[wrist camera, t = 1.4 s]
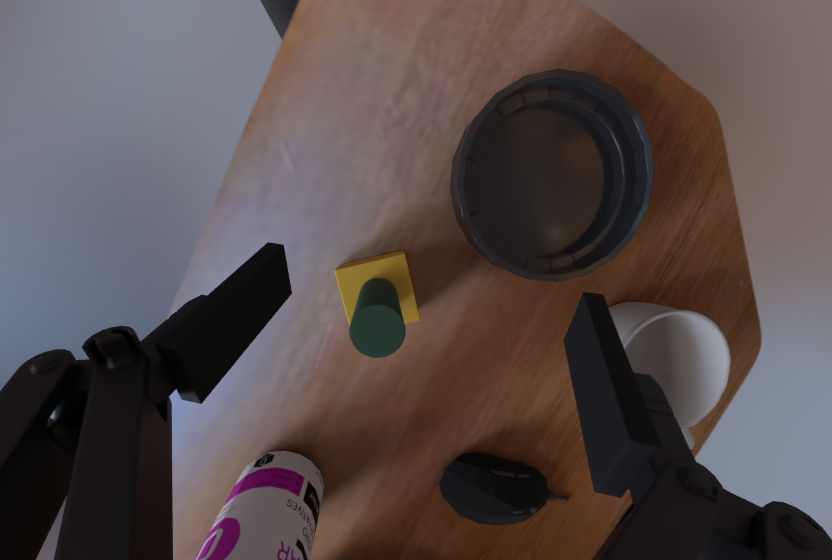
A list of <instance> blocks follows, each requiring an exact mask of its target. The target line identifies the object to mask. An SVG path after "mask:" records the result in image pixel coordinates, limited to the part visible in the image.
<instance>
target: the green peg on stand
mask: <svg viewBox="0 0 832 560" xmlns="http://www.w3.org/2000/svg"><path fill="white" fill-rule="evenodd" d="M335 274H336V278H337V282H338V285H339V289H340V293H341V296H342V300H343V304H344V307H345V311H346V315H347V318H348V322H349V326H350V328H349V335H350V339H351V342H352V344H353V345H354V347H355V348H356V349H357V350H358V351H359V352H360V353H362V354H364V355H366V356H368V357H373V358H381V357H385V356H388V355H390V354H392V353H394V352H395V351H396V350H397V349H398V348H399V347H400V346H401V344H402V342H403V340H404V337H405V324H408V323H412V322H416V321H420V316H419V312H418V308H417V303H416V299H415V295H414V291H413V286H412V282H411V278H410V274H409V269H408V265H407V261H406V257H405V254H404V252H403V251H402V250H401V251H397V252H392V253H388V254H384V255H380V256H376V257H371V258H367V259H363V260H359V261H355V262H350V263H346V264H342V265H339V266H338V267H337V268H336V269H335Z"/></svg>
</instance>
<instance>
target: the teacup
mask: <svg viewBox="0 0 832 560" xmlns="http://www.w3.org/2000/svg"><path fill="white" fill-rule="evenodd" d="M608 309H609V311H610V314H611V316H612V319H613V322H614V324H615V327H616V329H617V332H618V334H619V337H620V339H621V342H622V345H623V347H624V350H625V352H626V355H627V357H628V360H629V362H630V365H631V368H632V370H633V372H636V373H641V374H647V375H651V376H652V378H653V379H654V380H655V381H656V382H657V383H658V384H659V385H660V386H661V388H662V389H663V391H664V393H665V395H666V398H667V400H668V402H669V403H668V404H669V405H670V406H671V409H672V411H673V413H674V417H676V419H677V422H678V424H679V426H680V428H681V430H682V433H683V435H684V437H685V439H686V441H687V444H688V446H689V448H690V450H692V449H693V448H694V446H695V438H694V435H693V433H692V431H691V429H690V427H692V426H694V425H695V424H697V423H698V422H700V421H701V420H702V419H703V418H704V417H705V416H707V415H708V414H709V413H710V412H711V411H712V410H713V409H714V408H715V406H716V405H717V404H718V402H719V400H720V399H721V397H722V395H723V392H724V390H725V388H726V385H727V383H728V378H729V374H730V364H731V358H730V351H729V346H728V342H727V340H726V338H725V336H724V334H723V332H722V331H721V329H720V328H719V327H718V326H717V325H716V324H715V323H714V322H713V321H712V320H711V319H709V318H708V317H706V316H704V315H702V314H700V313H698V312H694V311H689V310H678V309H674V308H670V307H666V306H661V305H657V304H652V303H645V302H624V303H619V304H616V305H613V306H610V307H608Z"/></svg>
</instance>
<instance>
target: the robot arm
mask: <svg viewBox="0 0 832 560" xmlns="http://www.w3.org/2000/svg"><path fill="white" fill-rule="evenodd" d="M291 294H292V291H291V285H290V279H289V273H288V267H287V262H286V256H285V250H284V245H281V244H275V243H269V242H268V243H267V244H266V245H264V246H263V247H262V248H261V249H260V250H259V251H258V252H256V253H255V254H254V255H253V256H252V257H251V258H250V259H248V260H247V261H246V262H245V263H244V264H243V265H242V266H241V267H239V268H238V269H237V270H236V271H235V272H234V273H233V274H231V275H230V276H229V277H228V278H227V279H226V280H225V281H223V282H222V283H221V284H220V285H219V286H218V287H217V288H215V289H214V290H213V291H212V292H211V293H210V294H209V295H208V296H206V295H200V296H198V297H196V298H194V299H192V300H190V301H188V302H187V303H186V304H184V305H183V306H182V307H181V308H180V309H179V310H177V312H175V313H174V314H173V315H171V316H170V317H169V319H167V320H166V321H164V322H163V323H162V324H161V325H160V326H158V327H157V328H156V329H155V330H154V331H153V332H151V333H150V334H149V335H148V336H147V337H145V338H144V339H143V340H142V341H141V342H140V341H139V339H138V337H137V335H136V333H135V331H134V330H133V329H132V328H130V327H126V326H118V327H111V328H108V329H105V330H102V331H100V332H98V333H96V334H94V335H92V336H91V337H90V338H89V339H88V340H87V341H85V343H84V345H83V346H82V348H83V350H84V351H85V353H86V354H87V356H88V357H89V360H76V359H75V357H74V356H73V354H72V353H71V352H70V351H67V350H65V349H56V350H52V351H47V352H44V353H41V354H39V355H37V356H34V357H33V358H31V359H30V360H28V361H27V362H25V363H24V364H23V365H22V366H20V367H19V369H18V370H17V371H16V372H15V373H14V375H13V376H12V377H11V379H10V380H9V381H8V382H7V384H6V385H5V386H4V387H3V388H2V390H1V391H0V560H36V558H37V556H38V554H39V551H40V550H41V548H42V546H43V543H44V541H45V539H46V537H47V535H48V533H49V531H50V529H51V527H52V525H53V523H54V520H55V519H56V517H57V514H58V512H59V510H60V508H61V506H62V504H63V502H64V500H65V498H66V496H67V500H66V505H65V509H64V514H63V519H62V523H61V528H60V533H59V538H58V543H57V547H56V552H55V557H54V560H173V514H172V403H171V400H170V398H169V396H170V395H171V394H172V393H173V392H174V390H175V389H177V391H178V393H179V395H180V397H181V399H182V400H186V401H191V402H195V403H200V404H202V403H203V401H204V400H205V399H206V398H207V396H208V395H209V394H210V393H211V392H212V390H213V389H214V388H215V387H216V385H217V384H218V383H219V382H220V381H221V379H222V378H223V377H224V376H225V374H226V373H227V372H228V371H229V370H230V368H231V367H232V366H233V365H234V363H235V362H236V361H237V360H238V359H239V357H240V356H241V355H242V354H243V352H244V351H245V350H246V349H247V348H248V346H249V345H250V344H251V343H252V341H253V340H254V339H255V338H256V337H257V335H258V334H259V333H260V332H261V330H262V329H263V328H264V327H265V326H266V324H267V323H268V322H269V321H270V319H271V318H272V317H273V316H274V315H275V313H276V312H277V311H278V310H279V308H280V307H281V306H282V305H283V304H284V302H285V301H286V300H287V299H288V298H289V296H290V295H291ZM564 345H565V350H566V355H567V360H568V364H569V369H570V374H571V379H572V384H573V389H574V394H575V399H576V404H577V409H578V414H579V419H580V424H581V429H582V434H583V439H584V444H585V448H586V453H587V458H588V463H589V468H590V473H591V478H592V483H593V488H594V492H597V493H601V494H606V495H610V496H615V497H619V498H621V497H622V496H623V495H624V494H625V492H626V491H627V490H628V489H629V490H630V493H631V497H632V501H633V503H632V504H631V505H630V507H629V508H628V509H627V510H626V511H625V512H624V514H623V515H622V516H621V517H620V521H619V522H618V524H617V525H616V526H615V528H614V529H613V531H612V532H611V534H610V535H609V536H608V538H607V539H606V541H605V542H604V543H603V545H602V546H601V548H600V549H599V551H598V552H597V553H596V555H595V556H594V558H593V559H592V560H832V540H831V538H830V537H829V536H828V534H827V533H826V532H825V530H824V529H823V528H822V527H821V526H820V525H819V524H818V523H817V522H816V521H814V520H813V519H812V518H811V517H810V516H809V515H807V514H806V513H804V512H802V511H801V510H799V509H798V508H796V507H794V506H791V505H789V504H786V503H784V502H776V501H772V502H770V503H768V504H766V505H765V506H764V507H760V506H757V505H755V504H753V503H751V502H749V501H747V500H745V499H743V498H741V497H738V496H736V495H734V494H732V493H730V492H729V491H727V490H725V489H723V487H722V485H721V484H720V482H719V481H718V480H717V478H716V477H715V476H714V475H713V474H712V473H711V472H710V471H709V470H708V469H706V468H705V467H704V466H702V465H700V464H699V463H697V462H696V461H695V459H694V457H693V455H692V452H691V450H690V448H689V446H688V444H687V441H686V439H685V437H684V435H683V433H682V430H681V428H680V426H679V424H678V422H677V419H676V417H674V413H673V411H672V409H671V406H670V405H669V404H668V403H669V402H668V400H667V398H666V395H665V393H664V391H663V389H662V388H661V386H660V385H659V384H658V383H657V382H656V381H655V380H654V379H653V378H652V376H651V375H647V374H641V373H636V372H633V370H632V368H631V365H630V362H629V360H628V357H627V355H626V352H625V350H624V347H623V345H622V342H621V339H620V337H619V334H618V332H617V329H616V327H615V324H614V322H613V319H612V316H611V314H610V311H609V309H608V306H607V304H606V301H605V298H604V296H603V295H601V294H594V293H588V292H583V294H582V297H581V299H580V302H579V304H578V307H577V309H576V311H575V314H574V316H573V319H572V321H571V324H570V326H569V329H568V331H567V334H566V336H565V339H564ZM50 417H51V418H50ZM49 418H50V420H49ZM48 420H49V421H48ZM67 494H68V495H67Z"/></svg>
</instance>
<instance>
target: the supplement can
mask: <svg viewBox="0 0 832 560" xmlns="http://www.w3.org/2000/svg"><path fill="white" fill-rule="evenodd" d="M323 488H324V483H323V480H322V477H321V473H320V471H319V470H318V469H317V467H316V466H315V465H314V464H313V462H312V461H310V460H309V459H307V458H305V457H304V456H302V455H300V454H297V453H293V452H288V451H276V452H268V453H266V454H264V455H261V456H259V457H257V458H255V459H254V460H253V461H252V462H250V463H249V464H248V465H247V466H246V467H245V468H244V470H243V472H242V474H241V475H240V477H239V479H238V481H237V483H236V484H235V486H234V488H233V490H232V492H231V494H230V495H229V497H228V499H227V501H226V503H225V504H224V506H223V508H222V510H221V512H220V514H219V515H218V517H217V519H216V521H215V523H214V525H213V526H212V528H211V530H210V532H209V534H208V535H207V537H206V539H205V541H204V543H203V545H202V546H201V548H200V550H199V552H198V554H197V555H196V557H195V559H194V560H310V555H311V550H312V545H313V540H314V535H315V531H316V526H317V521H318V516H319V511H320V507H321V502H322V497H323Z"/></svg>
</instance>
